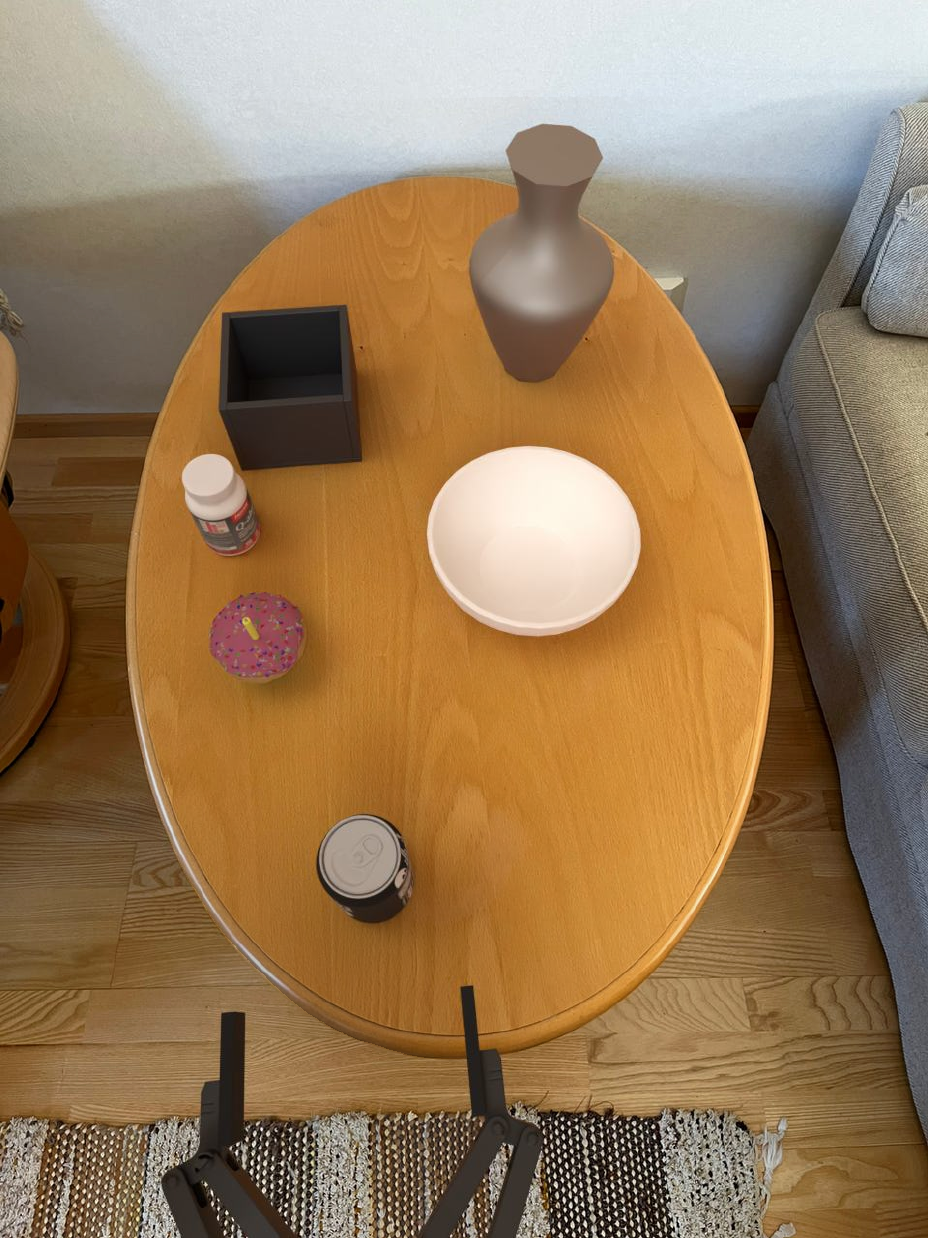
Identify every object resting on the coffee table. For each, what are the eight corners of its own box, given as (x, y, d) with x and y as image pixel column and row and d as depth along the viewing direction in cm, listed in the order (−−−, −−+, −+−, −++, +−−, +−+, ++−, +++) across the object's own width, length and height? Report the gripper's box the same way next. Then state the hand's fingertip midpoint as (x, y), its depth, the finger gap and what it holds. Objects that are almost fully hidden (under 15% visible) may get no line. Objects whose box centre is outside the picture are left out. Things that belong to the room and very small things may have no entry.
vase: (596, 319, 98) (639, 107, 75) (592, 416, 91) (636, 215, 69) (473, 308, 98) (479, 95, 76) (460, 404, 92) (462, 201, 70)
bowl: (652, 638, 80) (670, 604, 73) (451, 679, 78) (451, 647, 71) (594, 473, 88) (605, 429, 82) (412, 506, 86) (408, 463, 80)
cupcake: (325, 681, 77) (304, 624, 67) (235, 713, 76) (199, 660, 65) (298, 604, 81) (274, 538, 70) (212, 633, 79) (174, 570, 69)
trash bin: (241, 470, 88) (218, 409, 79) (243, 378, 93) (221, 312, 85) (361, 461, 88) (351, 400, 80) (356, 370, 94) (346, 303, 85)
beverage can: (318, 882, 69) (293, 854, 59) (377, 826, 72) (364, 790, 61) (371, 942, 67) (355, 925, 57) (430, 883, 69) (426, 856, 59)
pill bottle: (258, 558, 83) (235, 501, 74) (201, 558, 83) (170, 501, 74) (264, 509, 86) (242, 448, 77) (208, 509, 86) (179, 449, 77)
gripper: (129, 1489, 42) (155, 1024, 52) (616, 1422, 44) (555, 980, 53) (67, 1575, 36) (110, 1022, 45) (644, 1492, 37) (569, 972, 46)
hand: (350, 999), depth 49 cm, fingers open, 13 cm apart
